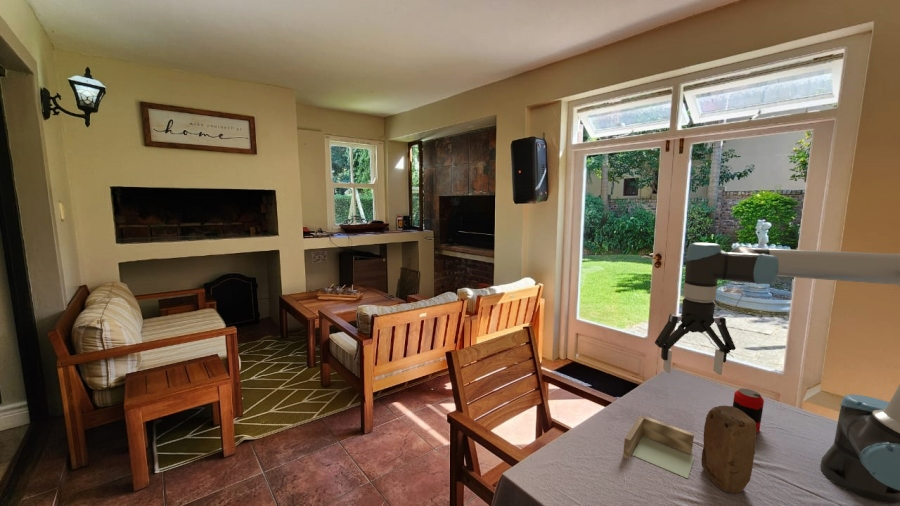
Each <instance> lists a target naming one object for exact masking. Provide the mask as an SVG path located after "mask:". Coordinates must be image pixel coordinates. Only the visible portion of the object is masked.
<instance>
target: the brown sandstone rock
mask: <svg viewBox="0 0 900 506" xmlns="http://www.w3.org/2000/svg"><path fill="white" fill-rule="evenodd" d="M703 426H704V428H703V448H702V452H701V459H700V460H701V467H702V468H703V471H704V472H705V475H706V476H707V477H708V478H709V479H710V481H711V482H712V483H713V484H714V485H715V486H716V487H718V488H719V489H720V490H723V491H724V492H727V493H732V494H735V493H736V494H739V493H741V492H742V491H744V489H745V488H746V486H747V485H748V484H749V483H750V481H751V478H752V477H751V476H752V473H753V465H754V459H755V452H756V442H757V433H756V423H755V421H754V420H753V419H752V418H750V417H749V416H748V415H747V414H745V413H744V412H743V411H741V410H739V409H737V408H735V407H733V405H731V406H730V405H719V406H714V407H712V408H711V409H710V410H709V411H708V412H707V414H706V417H705V422H704V425H703Z"/></svg>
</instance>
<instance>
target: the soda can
mask: <svg viewBox="0 0 900 506" xmlns="http://www.w3.org/2000/svg"><path fill="white" fill-rule="evenodd" d="M763 398H764V397H762V395H761V393H759V392H758V391H755V390H753V389H750V388H742V387H741V388H739V389H738V390H735V391H734V395H733V401H732V406H733V407H735V408H737V409H739V410H741V411H743V412H744V413H745V414H747V415H748V416H749V417H750V418H752V419H753V420H754V421H755V423H756V434H758V433H759V432H760V430H761V422H762V417H763V411H764V410H763V409H764V404H765V399H763Z"/></svg>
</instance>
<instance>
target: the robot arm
mask: <svg viewBox="0 0 900 506" xmlns="http://www.w3.org/2000/svg"><path fill="white" fill-rule="evenodd" d="M685 259H686V260H685V271H684V273H685V274H684V285H683V294H682V295H683V298H682V302H681V303H682V304H681V306H682V307H681V315H676V314H673V313H670V314H669V315H668V320H667V322H666V323H665V325H664V327H663V328H662V330H661V331H660V332H659V335H658V336H657V338H656V340H655V341H654V344H655V345H656V346H657V347H659V348H660V349H661V350H660V351H661V354H660V358H661V359H662V360H663V363H662V364H663V366H662V368H663V370H664V371H665V372H666V373H669V374H670V373H671V367H672V355H673V350H672V349H671V348H673V347H674V346H675V344H677V342H678V341H680V340H681V339H682V338H683V337H684V336H685V335H688V333H689V332H691V333H702V334H703V333H704V332H705V333H706V334H707V335H708V336H709V337H710V339H711V340H712V341H713V343H715V345H716V346H717V348H715V352H714V360H713V367H712V368H713V369H712V370H713V372H715V373H716V374H717V375H719V376H722V375H723V366H724V363H726V362H727V355H728V354H729V353H730V352H731V351H735V350H736V345H735V342H734V341H733V339H732V336H731V334H730V332H729V330H728V326H727V320H726V317H724V316H722V315H721V314H720V315H719V314H717V315H716V316H714V314H715V309H716V302H715V300H716V298H717V288H718V280H720V281H731V282H740V283H747V284H748V283H750V284H751V283H752V284H756V285H772V284H775V283H776V281H777V280H778V277H783V278H784V277H786V278H795V279H796V278H798V279H809V280H811V279H813V280H825V281H838V282H840V281H841V282H853V283H867V284H878V285H879V284H881V285H895V286H898V287H900V253H887V252H886V253H885V252H884V253H883V252H882V253H881V252H859V251H858V252H857V251H838V250H837V251H836V250H834V251H833V250H832V251H831V250H811V249H808V250H807V249H787V248H761V247H760V248H756V247H750V246H746V245H745V246H736V247H734V248H732V249H731V250H730V251H729V252H728V251H723V250H722V246H721V245H720V244H719V243H713V242H692V243H690V244H689V245H688V247H687V253H686V258H685ZM680 322H681V323H680ZM677 324H679V325H678V326H677ZM713 324H716V327H717V329H718V331H719V333H720V336H721V338H722V340H721V339H720V337H719V336H718V335H717V334H716V332H715V330H714V329H713V328H712V327H711V326H712V325H713ZM676 327H677V328H676ZM675 328H676V329H675ZM839 406H840V407H839V414H838V419H837V424H836V431H835V436H834V440H833V441H834V442H833V443H832V445H831V446H830V448H829V449H828V450H827V451H826V453H824V455H823V456H822V457H821V461H820V466H819V467H820V471H821V472H822V473H823V475H824V476H825V477H827V479H829V480H830V481H831V482H832V483H834V484H836V485H837V486H839V487H841V488H843V489H845V490H846V491H848V492H850V493H852V494H855V495H857V496H859V497H863V498H865V499H867V500H872V501H875V502H879V503H885V504H897V503H898V504H899V503H900V384H899V385H898V387H896V390H895V391H894V394H893V395H892V397H891V399H890V400H889V401H887V400H883V399H880V398H875V397H872V396H866V395H862V394H861V395H860V394H846V395H844V396H843V397H842V399H841V403H840V404H839Z"/></svg>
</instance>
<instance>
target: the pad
mask: <svg viewBox="0 0 900 506" xmlns="http://www.w3.org/2000/svg"><path fill="white" fill-rule="evenodd" d="M631 456H633V457H635V458H638V459H640V460H641V461H644V462H647V463H649V464H652V465H653V466H656V467H659V468H661V469H663V470H666V471H668V472H670V473H673V474H676V475H678V476H681V477H682V478H685V479H688V478H689V476H690V474H691V473H690V472H691V469H692V466H693V463H694V460H695V456H693V455H692V454H691V455H690V454H688V453H685V452H683V451H680V450H677V449H675V448H672V447H670V446H667V445H664V444H662V443H659V442H657V441H654V440H652V439H649V438H646V437H644V436H642V437H641V438H640V440H639V442H638V444H637V445H636V447H635V449H634V451H633V452H632V454H631Z"/></svg>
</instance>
